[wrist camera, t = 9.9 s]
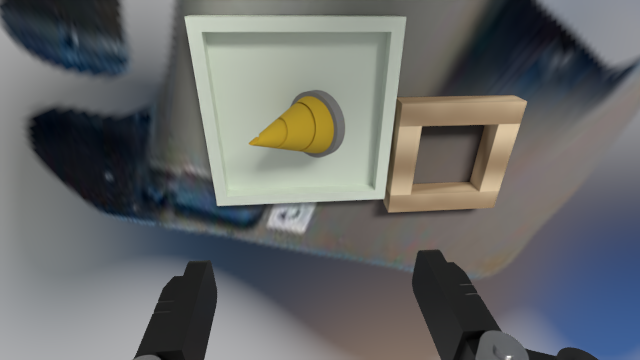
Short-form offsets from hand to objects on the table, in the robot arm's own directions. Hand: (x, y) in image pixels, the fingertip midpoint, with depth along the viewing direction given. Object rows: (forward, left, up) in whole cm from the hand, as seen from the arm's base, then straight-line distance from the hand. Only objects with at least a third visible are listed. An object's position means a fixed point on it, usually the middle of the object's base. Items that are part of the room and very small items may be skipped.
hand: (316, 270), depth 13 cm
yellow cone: (0, 0, -19) cm, 19 cm away
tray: (0, 0, -19) cm, 19 cm away
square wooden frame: (+4, +14, -19) cm, 24 cm away
